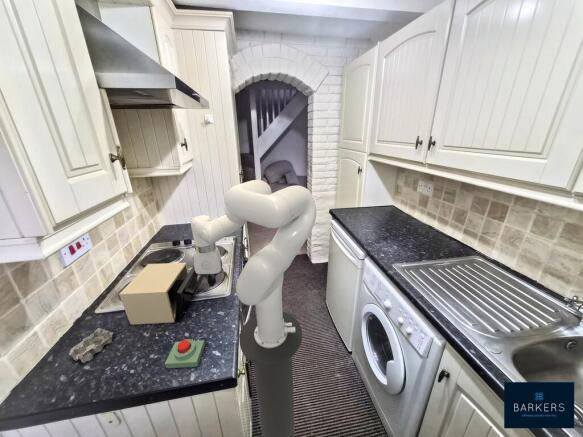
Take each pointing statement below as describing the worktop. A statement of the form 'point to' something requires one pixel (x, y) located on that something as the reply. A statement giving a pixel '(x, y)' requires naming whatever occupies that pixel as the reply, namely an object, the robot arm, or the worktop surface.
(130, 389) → the worktop surface
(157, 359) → the worktop surface
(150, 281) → the oven
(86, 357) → the egg carton
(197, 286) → the oven door
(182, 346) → the button
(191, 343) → the control block
